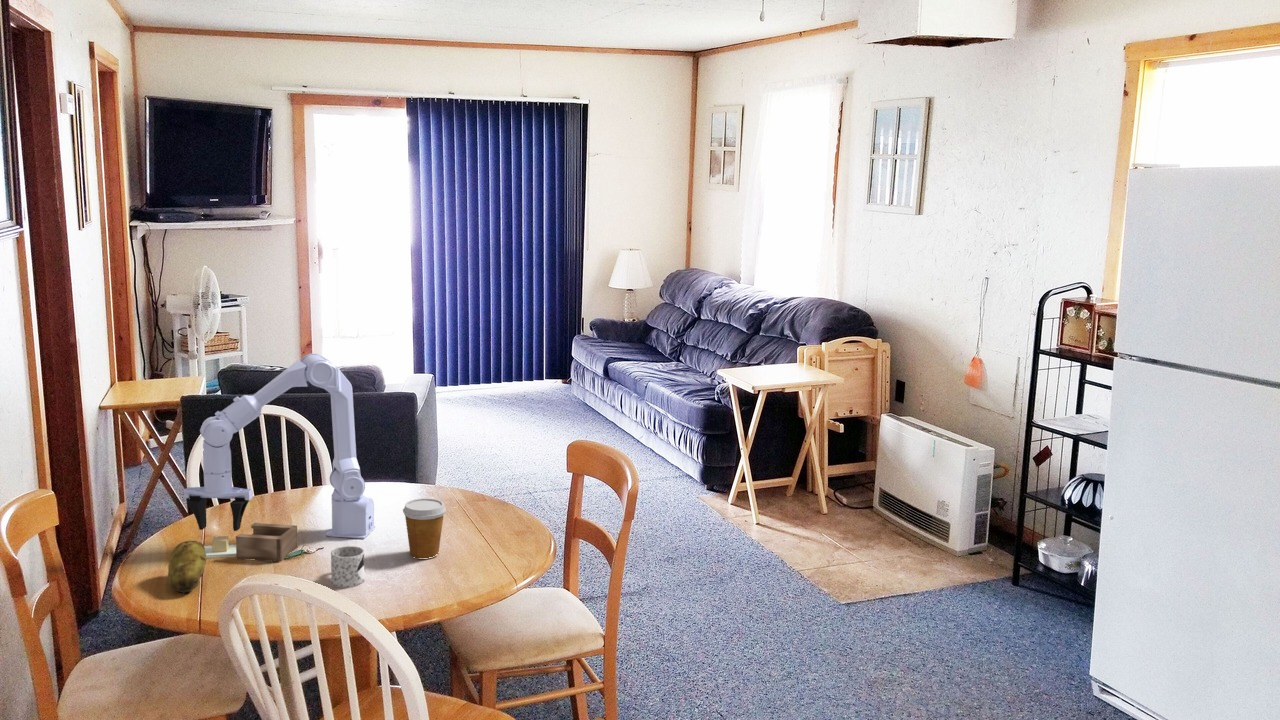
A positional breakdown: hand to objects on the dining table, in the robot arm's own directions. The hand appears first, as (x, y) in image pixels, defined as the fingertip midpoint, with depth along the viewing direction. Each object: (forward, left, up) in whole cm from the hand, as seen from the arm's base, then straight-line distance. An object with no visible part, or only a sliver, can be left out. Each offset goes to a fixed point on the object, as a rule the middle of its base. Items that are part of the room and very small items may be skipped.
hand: (219, 528), depth 217 cm
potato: (-3, +19, -5) cm, 20 cm away
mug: (-33, +11, -5) cm, 36 cm away
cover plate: (-1, +2, -6) cm, 6 cm away
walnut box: (-11, 0, -5) cm, 12 cm away
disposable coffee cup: (-45, -5, -5) cm, 46 cm away
